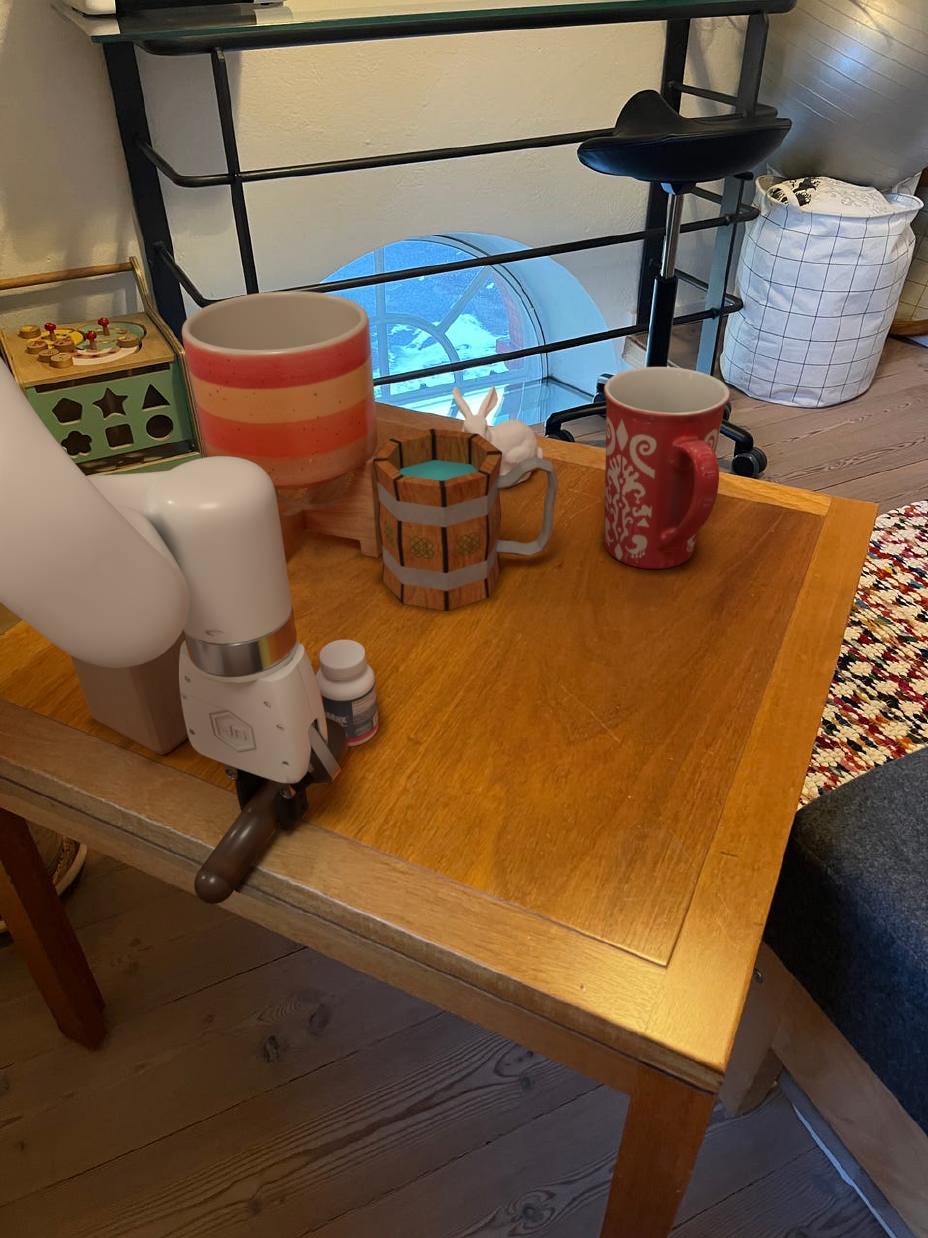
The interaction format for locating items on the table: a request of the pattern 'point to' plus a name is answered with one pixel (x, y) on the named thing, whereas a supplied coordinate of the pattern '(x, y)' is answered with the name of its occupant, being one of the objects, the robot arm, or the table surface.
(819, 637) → the table surface
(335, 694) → the pill bottle
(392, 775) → the table surface
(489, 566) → the mug
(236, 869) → the spoon
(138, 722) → the wooden block
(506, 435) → the rabbit
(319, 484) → the planter
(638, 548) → the mug
